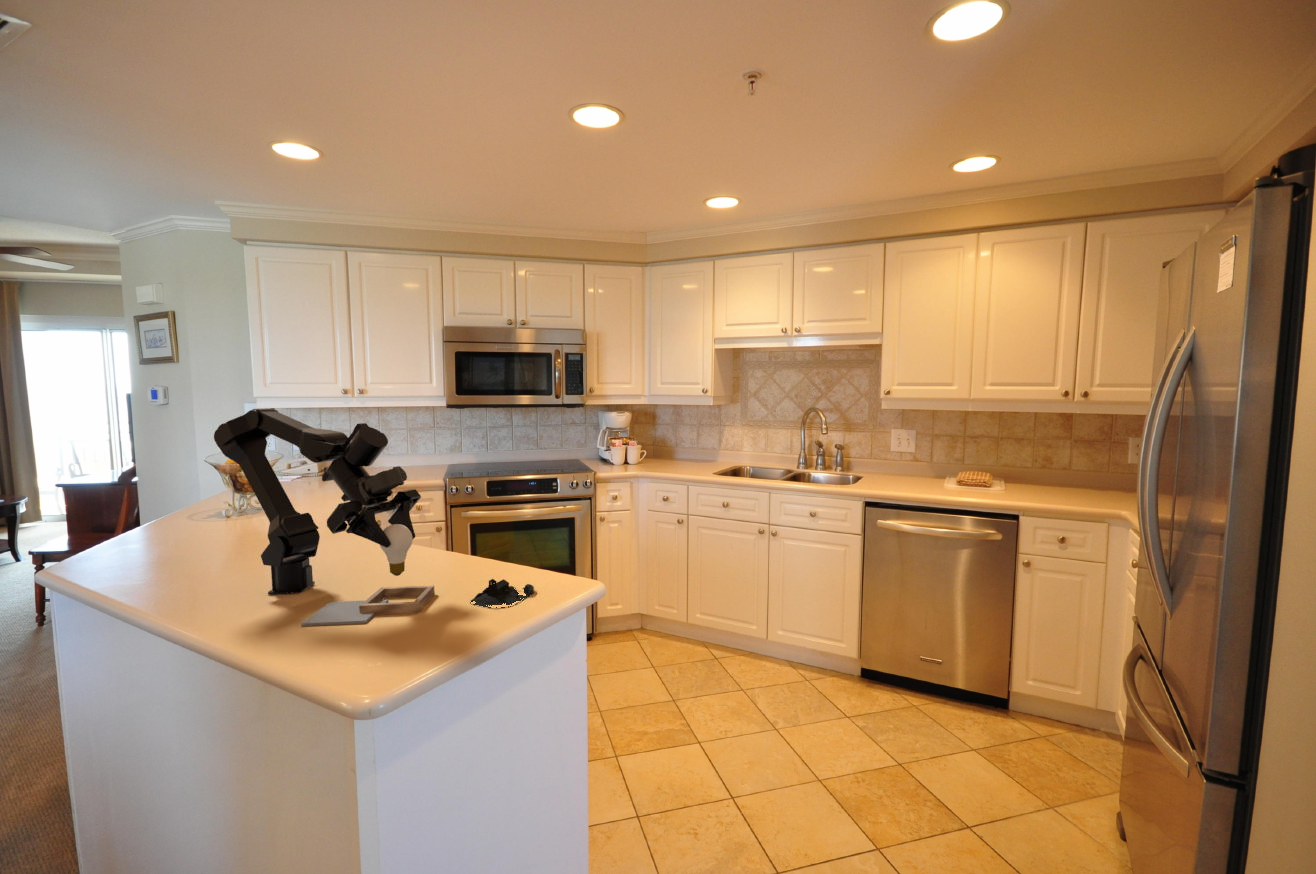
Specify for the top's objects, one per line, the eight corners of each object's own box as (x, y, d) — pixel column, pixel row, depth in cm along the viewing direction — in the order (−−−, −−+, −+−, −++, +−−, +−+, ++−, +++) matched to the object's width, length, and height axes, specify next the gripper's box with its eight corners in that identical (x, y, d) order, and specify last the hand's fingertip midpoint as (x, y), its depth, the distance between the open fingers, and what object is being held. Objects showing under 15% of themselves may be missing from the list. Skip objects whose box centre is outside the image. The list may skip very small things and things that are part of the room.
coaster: (301, 626, 105) (301, 623, 105) (330, 604, 116) (330, 601, 116) (365, 623, 106) (365, 620, 106) (388, 602, 117) (388, 599, 117)
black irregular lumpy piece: (507, 613, 111) (506, 587, 111) (462, 608, 114) (461, 582, 114) (539, 592, 123) (539, 569, 122) (498, 588, 126) (497, 565, 125)
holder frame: (359, 615, 110) (359, 605, 110) (381, 596, 120) (380, 587, 120) (418, 612, 111) (417, 603, 110) (434, 594, 121) (434, 585, 121)
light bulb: (420, 573, 116) (418, 522, 116) (395, 581, 111) (393, 529, 110) (398, 569, 119) (396, 520, 118) (373, 577, 114) (371, 526, 113)
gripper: (335, 459, 106) (385, 525, 103) (412, 450, 123) (457, 505, 120) (305, 500, 109) (353, 565, 106) (384, 485, 127) (427, 541, 124)
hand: (401, 542), depth 114 cm, fingers closed on light bulb, 6 cm apart
